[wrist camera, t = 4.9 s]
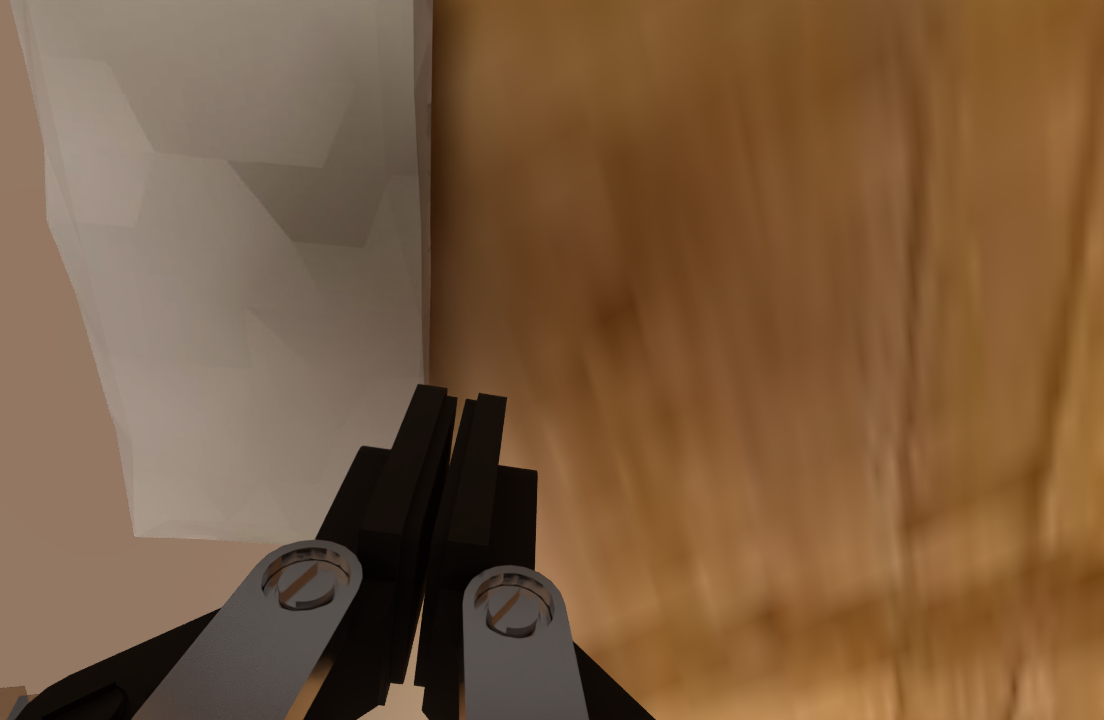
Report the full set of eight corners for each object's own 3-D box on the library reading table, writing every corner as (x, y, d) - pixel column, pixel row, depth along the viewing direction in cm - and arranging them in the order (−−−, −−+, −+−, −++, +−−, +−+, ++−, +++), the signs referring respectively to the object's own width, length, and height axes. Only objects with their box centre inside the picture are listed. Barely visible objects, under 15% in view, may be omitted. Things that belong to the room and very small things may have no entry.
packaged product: (457, -28, 18) (106, -65, 18) (425, -58, 14) (-41, -108, 13) (445, 482, 26) (200, 462, 25) (423, 567, 21) (125, 545, 21)
